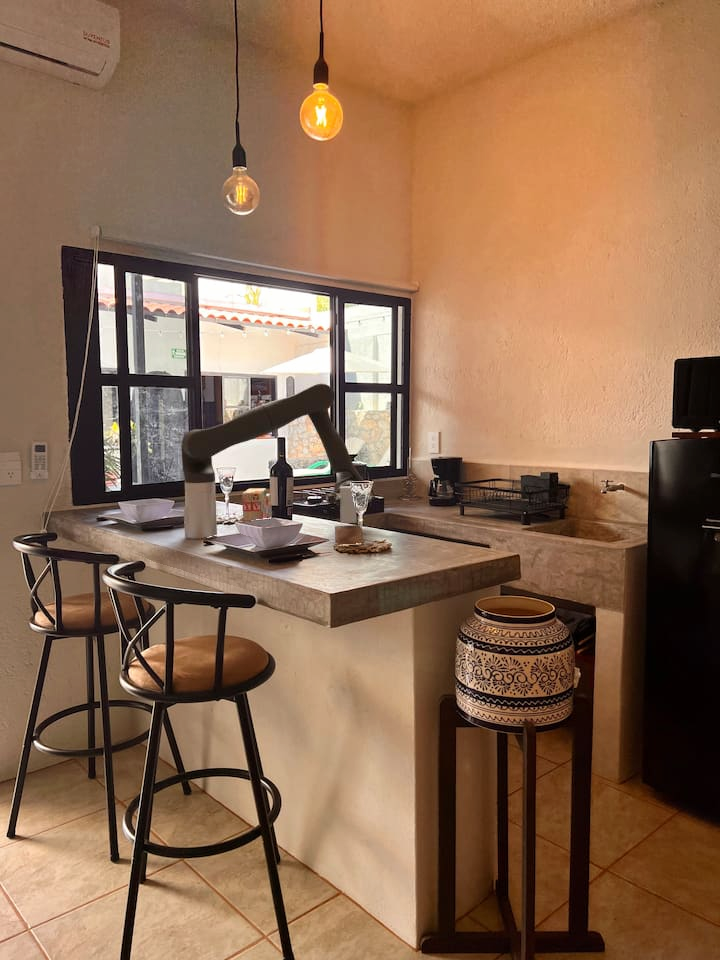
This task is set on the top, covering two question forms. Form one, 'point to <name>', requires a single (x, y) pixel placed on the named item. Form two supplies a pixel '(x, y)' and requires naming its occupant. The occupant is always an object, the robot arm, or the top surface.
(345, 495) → the tall grey block
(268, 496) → the tan printed box
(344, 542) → the walnut base block
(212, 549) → the top surface
